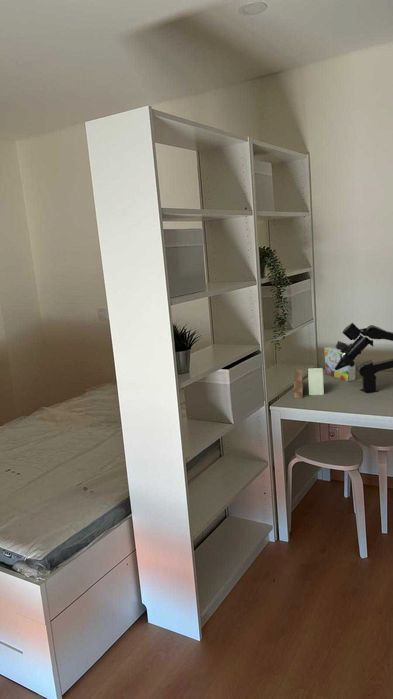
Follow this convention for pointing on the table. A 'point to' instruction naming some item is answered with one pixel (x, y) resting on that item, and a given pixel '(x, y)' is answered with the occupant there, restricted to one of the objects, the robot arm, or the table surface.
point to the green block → (315, 381)
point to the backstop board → (298, 384)
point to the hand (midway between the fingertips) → (335, 369)
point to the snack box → (331, 361)
